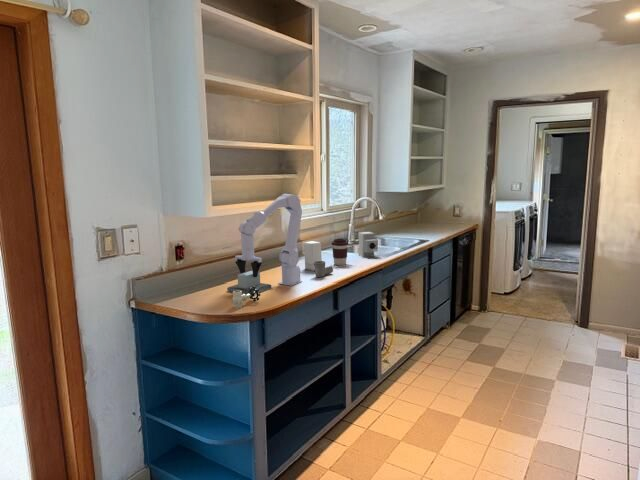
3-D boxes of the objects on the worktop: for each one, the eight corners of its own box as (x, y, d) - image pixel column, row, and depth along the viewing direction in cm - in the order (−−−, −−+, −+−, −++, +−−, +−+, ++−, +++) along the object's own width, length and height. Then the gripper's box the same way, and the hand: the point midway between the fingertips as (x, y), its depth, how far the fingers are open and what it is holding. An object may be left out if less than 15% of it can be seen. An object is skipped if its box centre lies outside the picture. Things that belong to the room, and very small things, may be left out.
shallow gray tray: (247, 284, 218) (247, 280, 218) (271, 288, 210) (271, 284, 210) (227, 291, 206) (227, 287, 206) (252, 295, 199) (252, 291, 198)
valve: (239, 309, 179) (260, 302, 188) (239, 293, 178) (260, 287, 187) (228, 306, 183) (249, 299, 192) (228, 291, 182) (249, 285, 191)
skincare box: (322, 269, 250) (321, 242, 247) (313, 271, 246) (312, 243, 243) (313, 267, 256) (312, 240, 254) (304, 268, 252) (303, 241, 250)
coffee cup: (329, 265, 260) (329, 240, 258) (334, 262, 270) (334, 237, 267) (345, 266, 257) (345, 240, 255) (350, 263, 266) (350, 238, 264)
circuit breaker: (368, 258, 278) (368, 235, 276) (358, 255, 292) (358, 232, 289) (378, 257, 281) (379, 234, 279) (368, 254, 294) (368, 231, 292)
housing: (252, 282, 214) (251, 269, 213) (260, 284, 211) (259, 270, 210) (238, 287, 205) (237, 273, 204) (246, 288, 203) (245, 274, 202)
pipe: (335, 274, 237) (335, 259, 236) (318, 278, 228) (318, 263, 227) (326, 272, 241) (326, 258, 240) (310, 277, 232) (309, 262, 231)
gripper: (230, 247, 206) (231, 276, 208) (254, 250, 198) (255, 279, 200) (240, 245, 212) (241, 273, 214) (264, 247, 204) (265, 276, 206)
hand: (249, 276), depth 207 cm, fingers open, 7 cm apart
